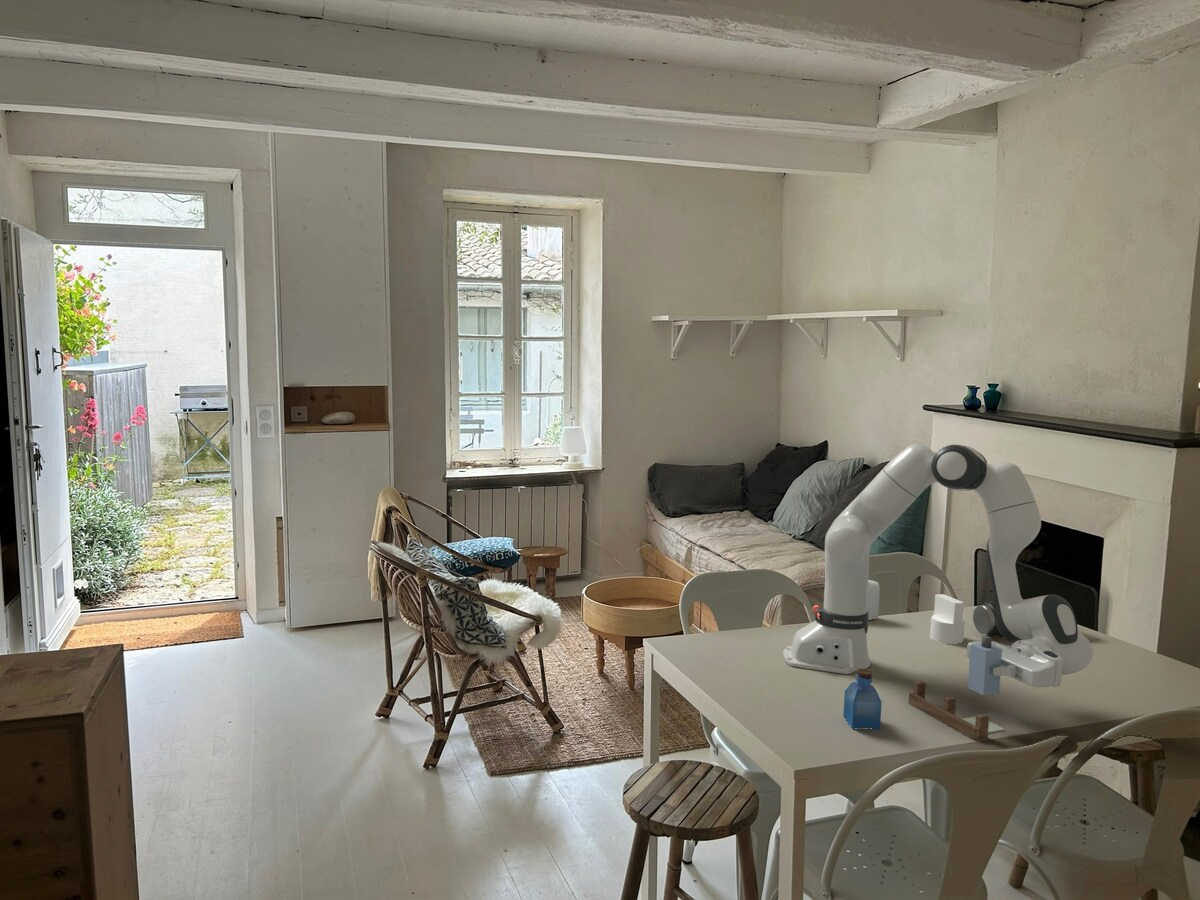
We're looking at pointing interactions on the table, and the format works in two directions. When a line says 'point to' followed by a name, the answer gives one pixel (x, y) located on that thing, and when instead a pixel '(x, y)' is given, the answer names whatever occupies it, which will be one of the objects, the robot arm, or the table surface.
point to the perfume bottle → (862, 702)
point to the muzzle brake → (986, 619)
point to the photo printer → (873, 600)
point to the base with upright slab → (947, 620)
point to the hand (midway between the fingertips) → (981, 666)
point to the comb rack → (952, 714)
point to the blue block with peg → (984, 667)
